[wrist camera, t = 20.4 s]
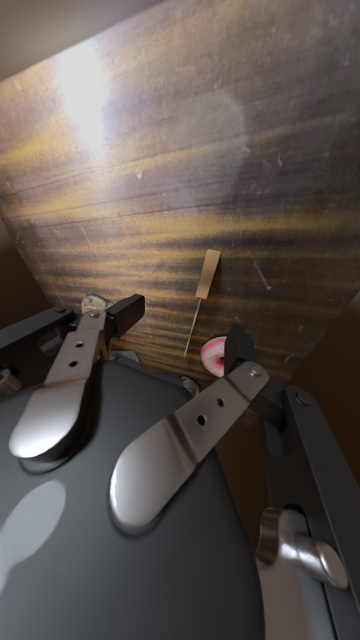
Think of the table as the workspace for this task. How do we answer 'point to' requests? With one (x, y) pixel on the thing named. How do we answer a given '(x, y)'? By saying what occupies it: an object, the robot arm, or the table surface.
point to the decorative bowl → (94, 303)
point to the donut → (214, 356)
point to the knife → (205, 279)
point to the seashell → (191, 386)
